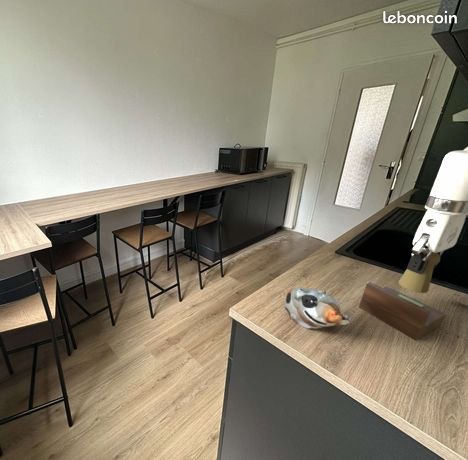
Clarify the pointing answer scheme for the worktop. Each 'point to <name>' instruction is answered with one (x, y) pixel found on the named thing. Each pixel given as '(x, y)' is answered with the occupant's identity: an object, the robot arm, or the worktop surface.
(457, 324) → the worktop surface
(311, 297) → the snowman head
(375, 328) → the worktop surface
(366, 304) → the brown wooden box
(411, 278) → the cork
